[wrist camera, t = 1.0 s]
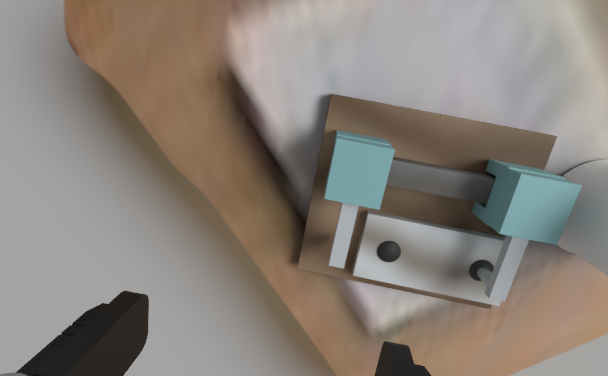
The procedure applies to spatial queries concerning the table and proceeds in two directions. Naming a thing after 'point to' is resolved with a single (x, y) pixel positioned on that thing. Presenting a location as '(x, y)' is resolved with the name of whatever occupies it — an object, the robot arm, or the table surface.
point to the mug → (589, 215)
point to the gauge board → (419, 201)
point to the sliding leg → (355, 183)
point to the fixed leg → (522, 217)
